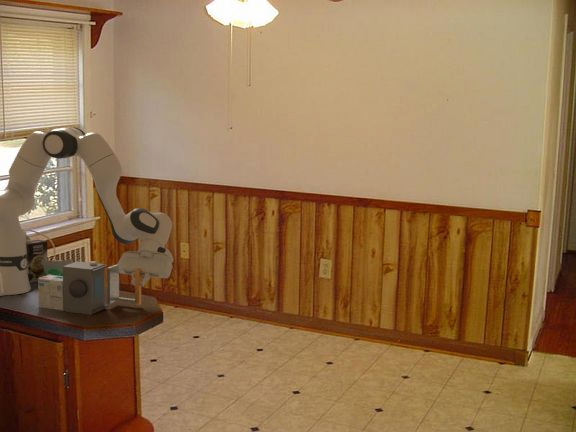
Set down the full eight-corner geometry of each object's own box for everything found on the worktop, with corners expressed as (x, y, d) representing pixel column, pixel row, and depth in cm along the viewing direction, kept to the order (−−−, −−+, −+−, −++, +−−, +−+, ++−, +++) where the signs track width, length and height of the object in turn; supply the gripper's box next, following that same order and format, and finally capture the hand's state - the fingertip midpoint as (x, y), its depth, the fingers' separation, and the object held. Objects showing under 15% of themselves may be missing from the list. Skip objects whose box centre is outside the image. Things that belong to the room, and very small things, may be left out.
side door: (107, 305, 266) (107, 267, 264) (116, 301, 272) (116, 264, 270) (132, 308, 263) (132, 270, 261) (141, 304, 269) (141, 266, 267)
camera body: (60, 312, 259) (59, 264, 256) (77, 304, 269) (77, 258, 267) (91, 316, 255) (90, 268, 253) (107, 308, 266) (107, 261, 263)
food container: (40, 287, 293) (39, 261, 291) (41, 283, 299) (40, 258, 297) (72, 286, 296) (72, 261, 294) (73, 282, 302) (73, 258, 300)
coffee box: (28, 283, 297) (28, 243, 294) (19, 281, 301) (18, 241, 298) (48, 280, 304) (47, 240, 302) (39, 277, 308) (38, 238, 306)
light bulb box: (74, 306, 267) (74, 277, 266) (63, 311, 261) (62, 281, 260) (50, 302, 271) (49, 273, 269) (37, 307, 265) (37, 277, 263)
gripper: (121, 245, 275) (108, 277, 267) (172, 250, 269) (160, 282, 262) (127, 255, 280) (114, 286, 272) (177, 260, 274) (165, 292, 267)
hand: (137, 284), depth 267 cm, fingers closed on side door, 2 cm apart
